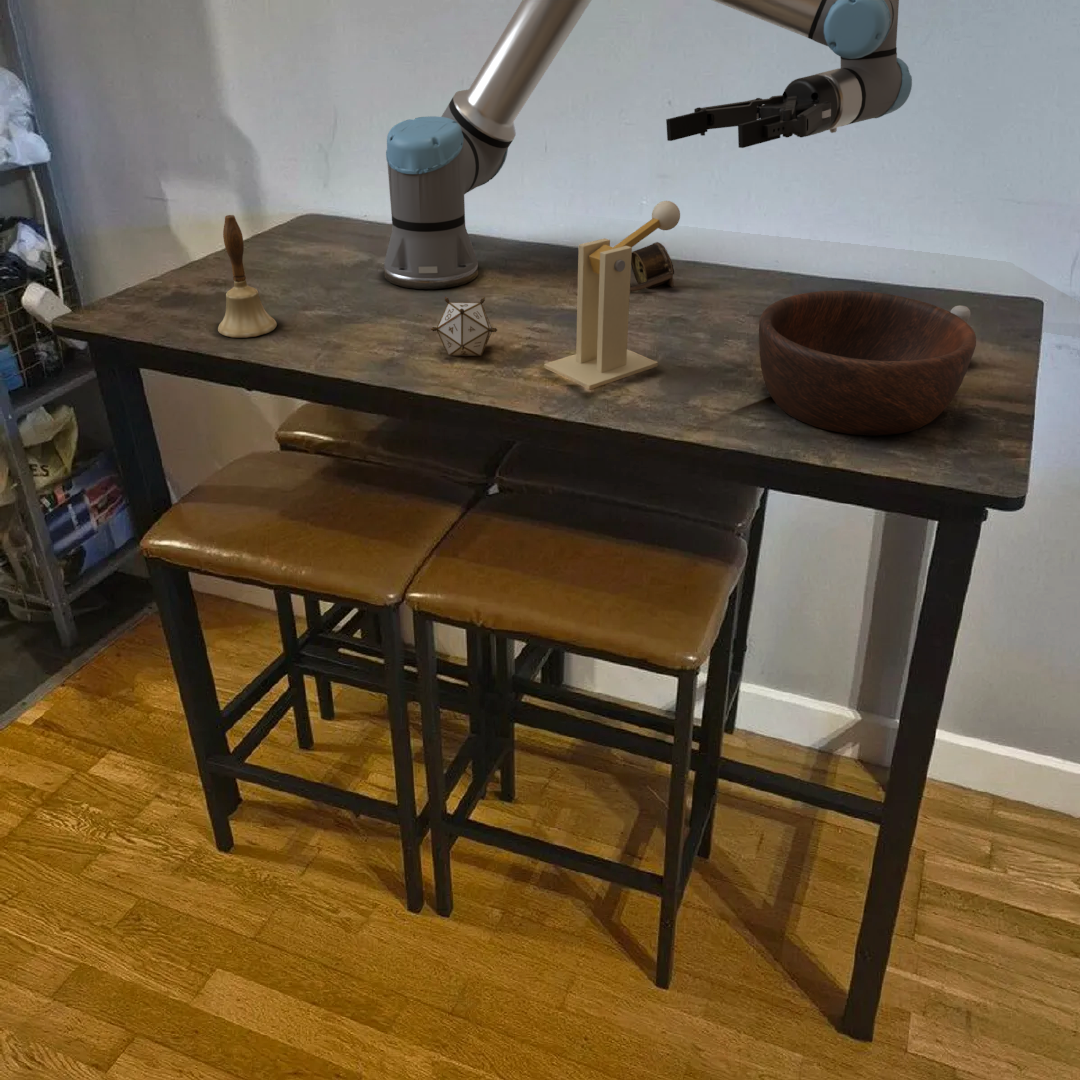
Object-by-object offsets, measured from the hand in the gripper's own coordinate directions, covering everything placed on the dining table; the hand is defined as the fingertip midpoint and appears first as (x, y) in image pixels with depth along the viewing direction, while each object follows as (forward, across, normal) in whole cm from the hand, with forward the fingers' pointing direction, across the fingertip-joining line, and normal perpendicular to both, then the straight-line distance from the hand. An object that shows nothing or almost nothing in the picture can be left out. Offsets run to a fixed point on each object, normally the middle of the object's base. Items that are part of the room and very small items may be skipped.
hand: (702, 133), depth 136 cm
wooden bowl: (0, -26, -31) cm, 40 cm away
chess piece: (-20, -24, -32) cm, 45 cm away
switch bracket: (+20, -1, -26) cm, 33 cm away
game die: (+32, +14, -24) cm, 42 cm away
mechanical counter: (-4, +23, -26) cm, 35 cm away
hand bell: (+52, +41, -20) cm, 69 cm away
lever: (+13, -2, -12) cm, 18 cm away
